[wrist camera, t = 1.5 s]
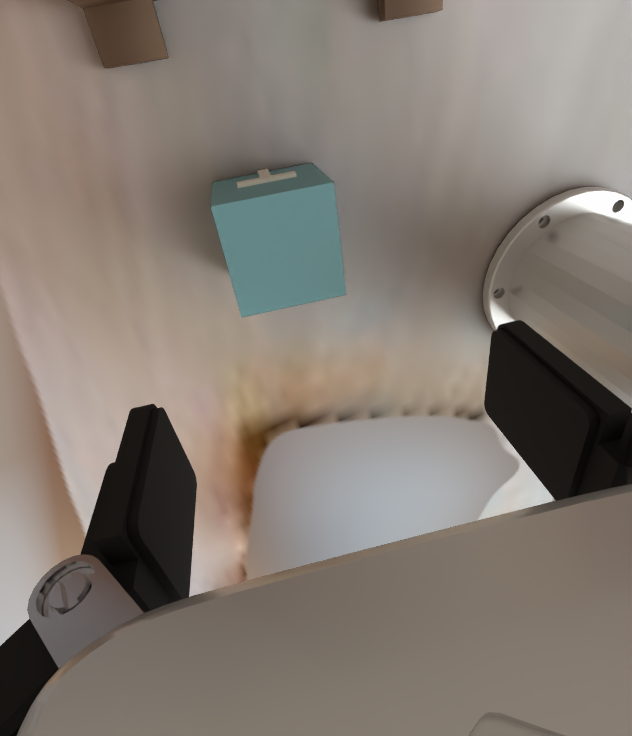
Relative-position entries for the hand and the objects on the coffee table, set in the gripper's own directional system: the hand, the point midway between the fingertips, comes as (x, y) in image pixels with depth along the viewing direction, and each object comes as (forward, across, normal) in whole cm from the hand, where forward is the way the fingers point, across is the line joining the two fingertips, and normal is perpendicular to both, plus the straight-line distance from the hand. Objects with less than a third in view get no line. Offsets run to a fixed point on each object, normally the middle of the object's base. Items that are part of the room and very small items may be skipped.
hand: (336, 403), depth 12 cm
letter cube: (+18, 0, 0) cm, 18 cm away
